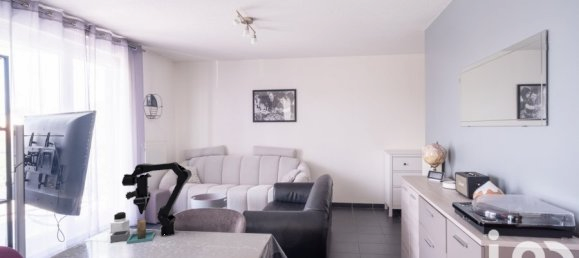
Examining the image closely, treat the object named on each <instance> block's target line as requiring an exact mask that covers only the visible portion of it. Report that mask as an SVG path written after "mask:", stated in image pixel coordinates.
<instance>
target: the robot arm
mask: <svg viewBox="0 0 579 258" xmlns="http://www.w3.org/2000/svg"><path fill="white" fill-rule="evenodd" d="M166 170H168V171H169V170H171V171H173V173H174V174H175V175H176V176H177V178H176V183H175V186H174V188H173V190H172V192H171V194H170V196H169V197H168V200H167V202H166V204H165V205H163V206H161V207H160V208H159V210H158V213H157V220H158V221H159V223H160V225H161V226H160V230H161V232H160V234H161V237H164V236H163V235H164V234H165V235H167V236H172V235H171V234H174V235H175V233H174V232H176V230H175V221H176V218H177V217H176V216H175V215H174V214H173V211H174V207H175V204H176V202H177V200H178V198H179V196H180V194H181V192H182V191H183V189H184V187H185V185H186V184H187V183H188V182H189V180H190V179H191V177H192V171H191V170H190V169H187V168H185V167H184V166H182V165H181V164H179V163H178V162H176V161H174V162H165V163H157V164H153V163H139V164H137V165H135V167H134V170H133V172H132V173H131V174H130V173H129V174H128V173H125V174H123V177H122V181H121V184H122V186H123V187H134V186H136V188H135V190H132V191H127V192H126V194H125V198H126V199H127V201H128V200H130V199H133V198H134V197H135V198H134V199H133V200H132V201H133V205H134V206H136V207H137V209H138V212H139V215H143V213H144V211H146V210H147V207H148V205H149V203H150V200H151V197H152V193H151V192H150V191H149V189H150V188H149V187H150V186H149V181H148V178H151V177H152V175H151V174H149V172H150V173H151V172H157V171H166Z"/></svg>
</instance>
